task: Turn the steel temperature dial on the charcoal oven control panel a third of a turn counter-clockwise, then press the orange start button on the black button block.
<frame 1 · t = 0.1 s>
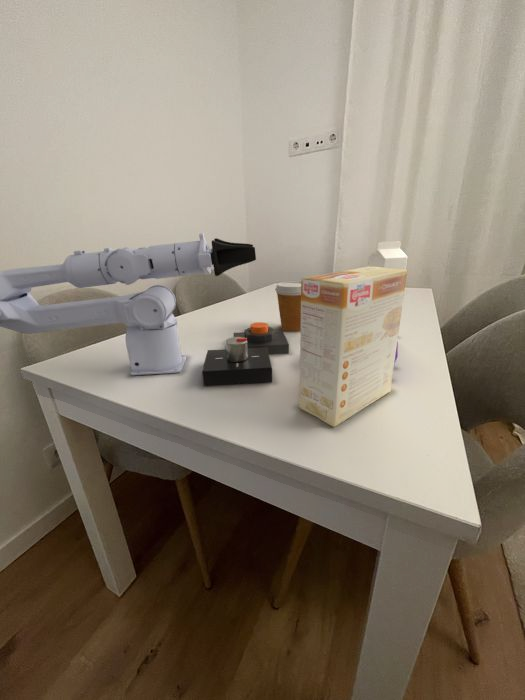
hand: (254, 251, 55), 22 cm above the table, tool horizontal, fingers open, 7 cm apart
disposable coffee cup: (293, 328, 83), on the table
handheld gaming console: (350, 367, 59), on the table
start button: (259, 328, 68), point 4 cm above the table, slide at 0.1 cm
button block: (259, 347, 70), on the table
dial panel: (238, 372, 58), on the table
coffeecake box: (346, 400, 48), on the table
milk: (378, 335, 76), on the table
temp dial: (236, 348, 56), point 5 cm above the table, hinge at 0.0°
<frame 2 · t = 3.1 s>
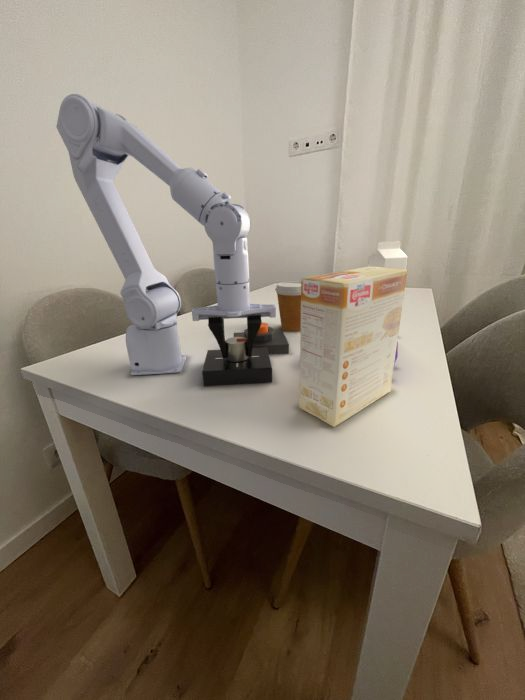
hand: (237, 355, 56), 4 cm above the table, tool pointing down, fingers closed on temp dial, 4 cm apart
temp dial: (236, 348, 56), point 5 cm above the table, hinge at 0.0°, touching gripper
everything else where it was.
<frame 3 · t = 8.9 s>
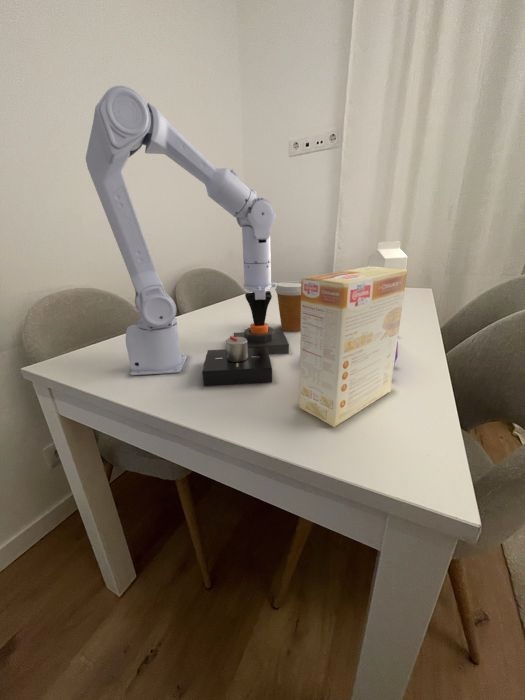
hand: (259, 325, 68), 5 cm above the table, tool pointing down, fingers closed, pressing on start button
start button: (259, 328, 68), point 4 cm above the table, slide at 0.1 cm, touching gripper
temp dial: (236, 348, 56), point 5 cm above the table, hinge at 119.6°
everything else where it was.
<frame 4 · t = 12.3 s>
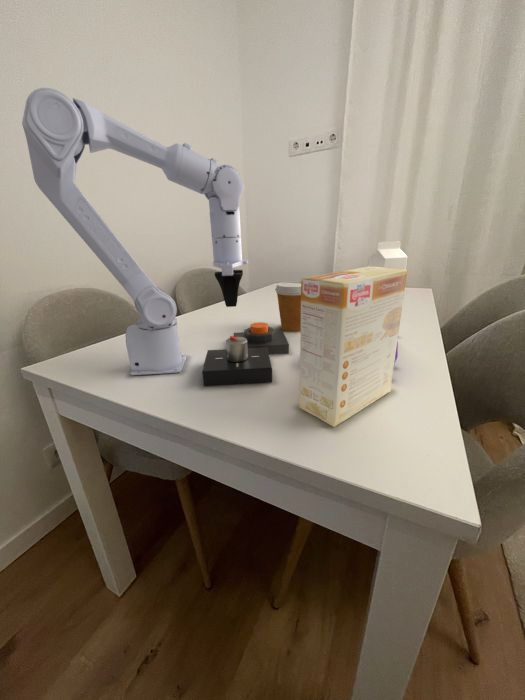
hand: (231, 305, 64), 10 cm above the table, tool pointing down, fingers closed
start button: (259, 328, 68), point 4 cm above the table, slide at 0.1 cm
everything else where it was.
at the end: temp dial at +120° (first picture: +0°); start button pushed in 1.2 cm at the most during the clip, back to where it started at the end; start button slide at 0.1 cm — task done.
